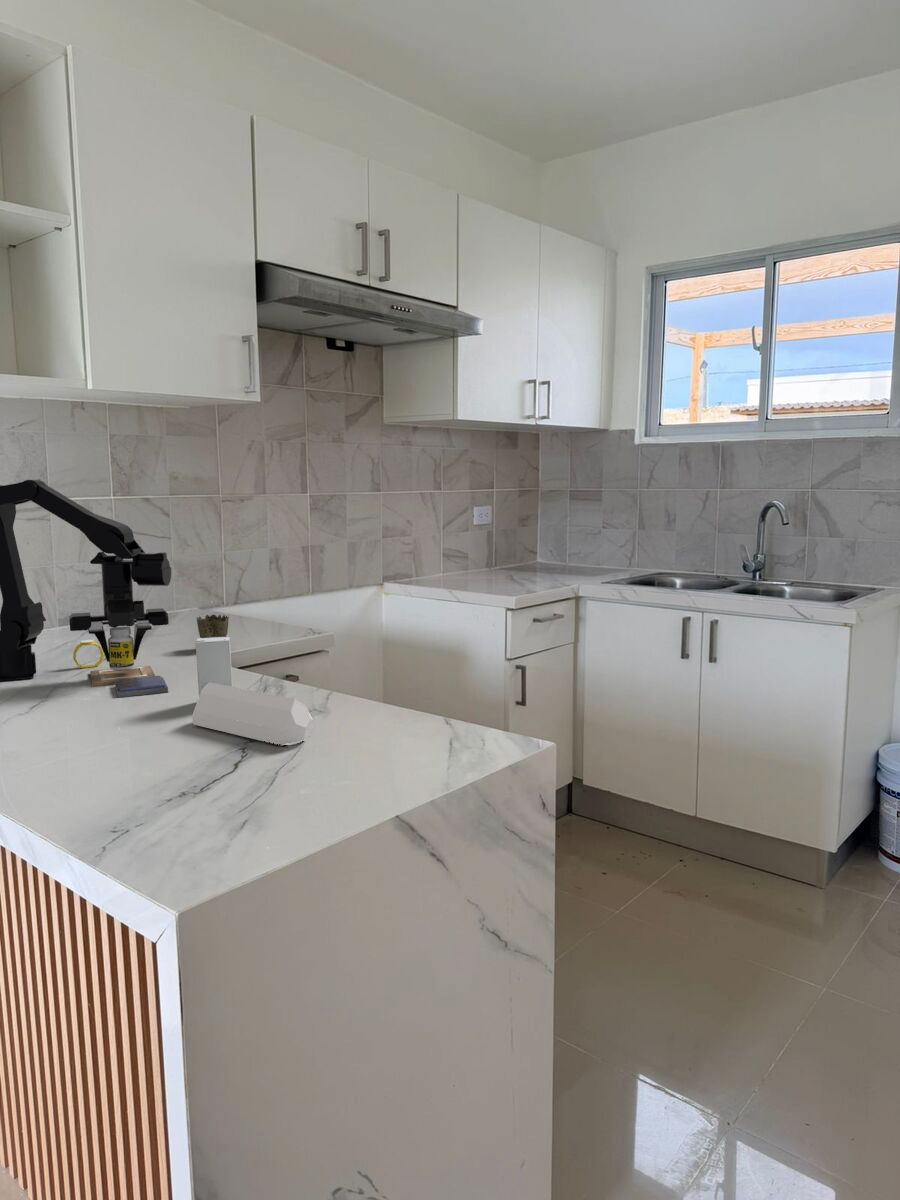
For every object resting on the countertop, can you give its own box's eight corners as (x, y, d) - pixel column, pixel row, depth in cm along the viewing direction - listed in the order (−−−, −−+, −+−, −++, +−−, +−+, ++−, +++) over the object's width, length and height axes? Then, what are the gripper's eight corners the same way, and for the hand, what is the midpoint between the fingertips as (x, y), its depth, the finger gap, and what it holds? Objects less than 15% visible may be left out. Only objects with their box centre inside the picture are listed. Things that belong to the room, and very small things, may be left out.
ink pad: (118, 697, 157) (117, 689, 157) (115, 686, 165) (114, 679, 165) (168, 692, 161) (167, 684, 161) (162, 682, 169) (162, 674, 169)
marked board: (92, 686, 166) (92, 682, 165) (90, 673, 176) (90, 669, 176) (156, 680, 171) (156, 676, 170) (150, 668, 181) (150, 664, 181)
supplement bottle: (108, 671, 170) (105, 630, 169) (111, 666, 175) (108, 626, 174) (133, 669, 172) (131, 629, 170) (135, 664, 176) (133, 625, 175)
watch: (76, 671, 180) (72, 644, 179) (74, 668, 182) (70, 642, 181) (105, 666, 183) (102, 639, 182) (103, 663, 185) (99, 637, 184)
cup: (210, 653, 196) (209, 620, 195) (191, 650, 201) (190, 617, 200) (236, 648, 202) (235, 616, 201) (217, 645, 207) (215, 613, 205)
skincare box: (233, 699, 156) (231, 635, 155) (233, 705, 152) (230, 640, 150) (199, 701, 155) (196, 637, 153) (198, 707, 150) (195, 641, 149)
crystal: (174, 706, 138) (280, 730, 125) (203, 677, 142) (308, 697, 129) (193, 738, 142) (298, 764, 129) (221, 709, 146) (324, 731, 133)
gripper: (68, 593, 159) (72, 672, 162) (170, 588, 167) (173, 664, 170) (67, 586, 169) (71, 661, 172) (163, 581, 177) (166, 653, 180)
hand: (121, 660), depth 173 cm, fingers closed on supplement bottle, 5 cm apart
